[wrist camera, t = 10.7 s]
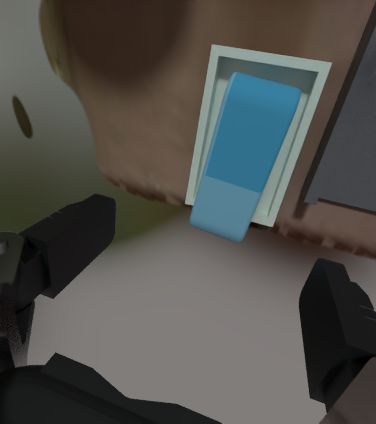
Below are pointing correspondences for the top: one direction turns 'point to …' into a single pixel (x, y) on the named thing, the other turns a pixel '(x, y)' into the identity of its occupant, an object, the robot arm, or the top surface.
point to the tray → (310, 93)
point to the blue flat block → (242, 153)
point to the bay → (350, 136)
